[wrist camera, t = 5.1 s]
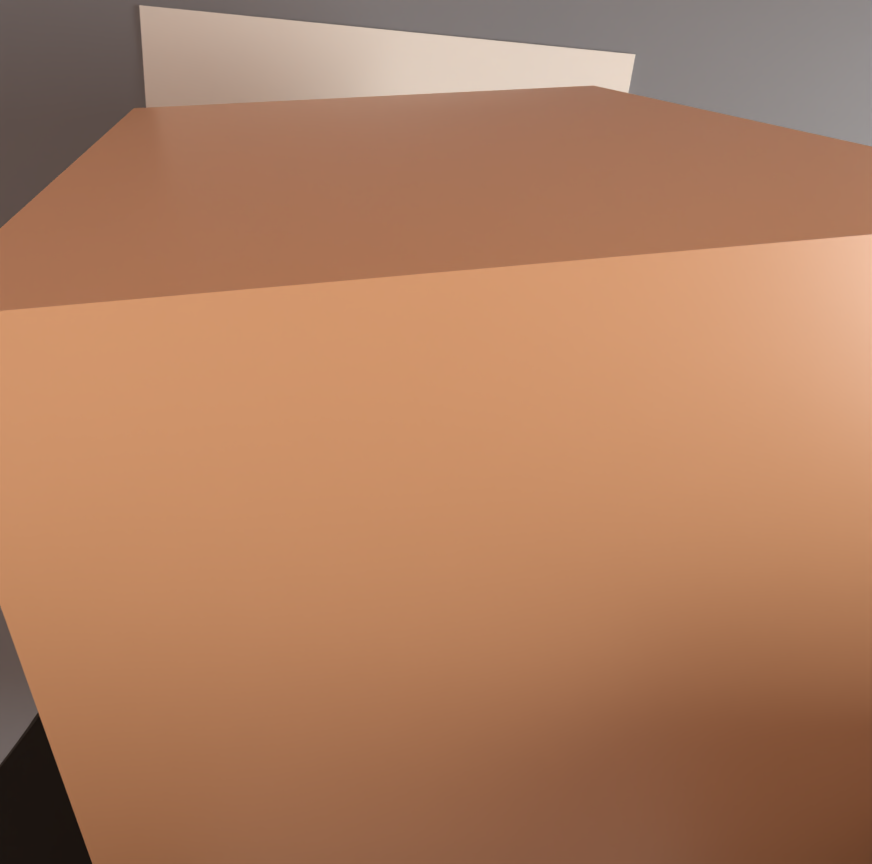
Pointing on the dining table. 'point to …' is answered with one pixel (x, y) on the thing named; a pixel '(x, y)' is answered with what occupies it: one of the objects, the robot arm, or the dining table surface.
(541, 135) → the block
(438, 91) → the pin board
